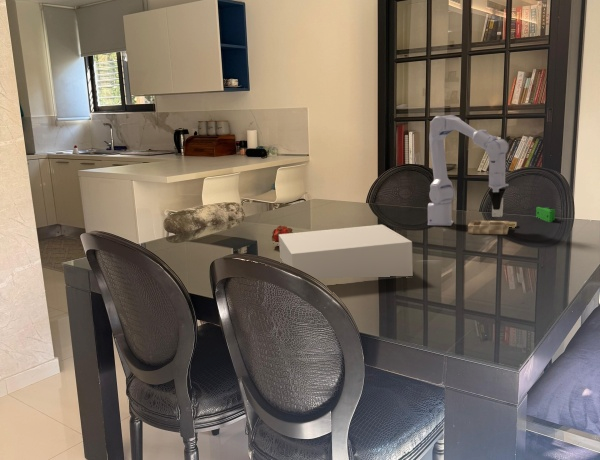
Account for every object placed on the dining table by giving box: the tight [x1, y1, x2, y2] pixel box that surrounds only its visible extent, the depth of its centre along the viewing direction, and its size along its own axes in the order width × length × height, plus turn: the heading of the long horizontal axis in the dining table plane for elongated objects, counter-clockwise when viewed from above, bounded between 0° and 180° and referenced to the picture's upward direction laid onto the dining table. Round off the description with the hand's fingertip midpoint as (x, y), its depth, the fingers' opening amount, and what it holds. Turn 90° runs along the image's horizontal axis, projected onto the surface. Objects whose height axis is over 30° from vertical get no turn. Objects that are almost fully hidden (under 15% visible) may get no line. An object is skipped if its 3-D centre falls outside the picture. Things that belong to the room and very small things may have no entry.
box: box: [278, 224, 414, 279], centre depth 174 cm, size 28×35×11 cm
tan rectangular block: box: [509, 221, 517, 229], centre depth 221 cm, size 6×4×2 cm, turn 65°
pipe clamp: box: [535, 206, 556, 223], centre depth 230 cm, size 11×4×5 cm, turn 4°
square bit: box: [491, 196, 504, 218], centre depth 213 cm, size 4×4×7 cm
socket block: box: [467, 220, 510, 235], centre depth 216 cm, size 14×10×3 cm
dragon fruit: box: [271, 225, 294, 242], centre depth 211 cm, size 8×8×12 cm
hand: (496, 208), depth 213 cm, fingers closed on square bit, 4 cm apart
